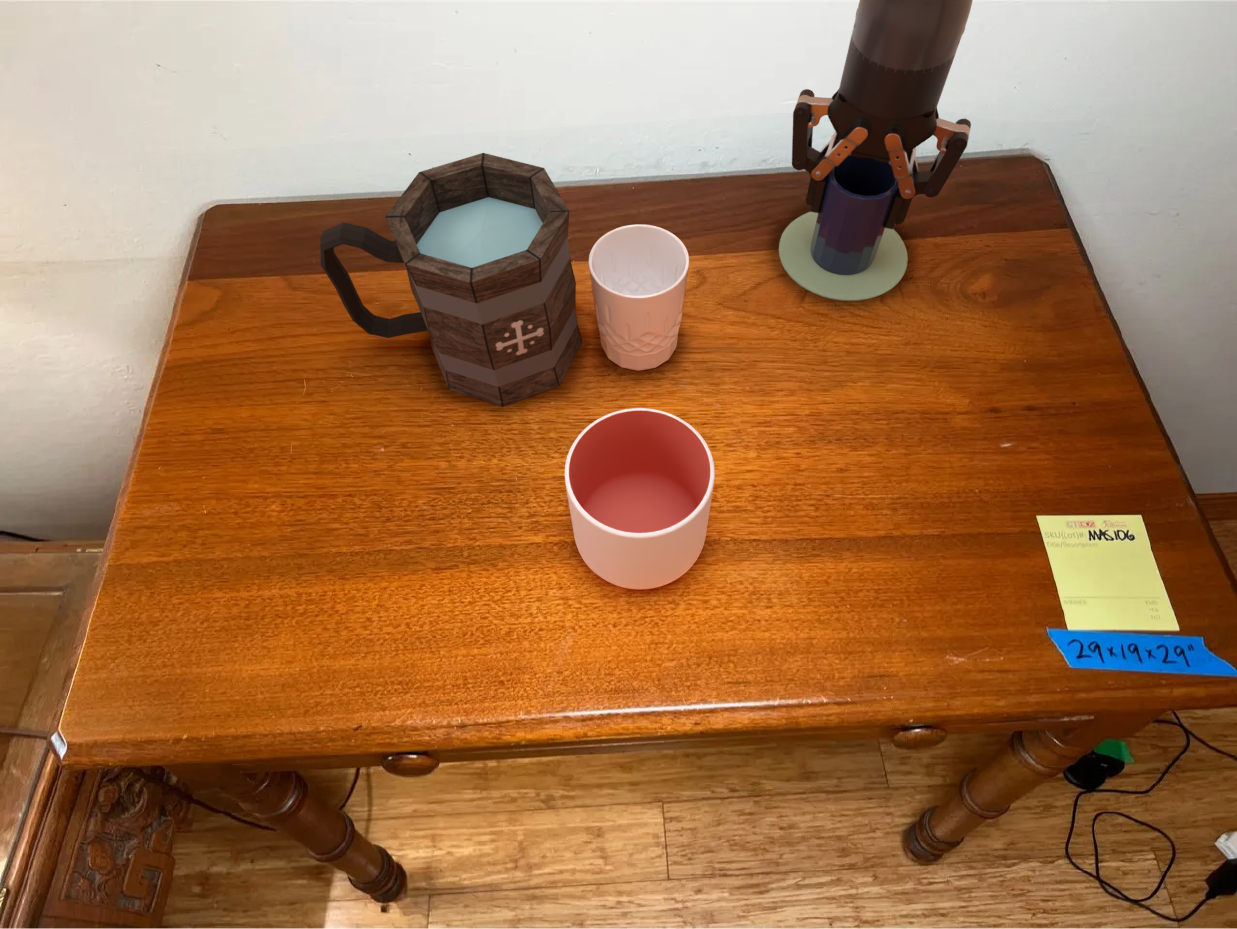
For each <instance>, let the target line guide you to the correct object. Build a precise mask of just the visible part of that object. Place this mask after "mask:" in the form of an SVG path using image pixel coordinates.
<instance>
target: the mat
mask: <svg viewBox="0 0 1237 929" xmlns="http://www.w3.org/2000/svg"><path fill="white" fill-rule="evenodd" d="M817 217H818V213H814V212H811V211H808V212H806V213H804V214H802V215H800V216H799V217H797V218H795V219H794V220H792V221H791V222H790V223H789V224H788V225H787V226H786V227H785V229H784V230H783V232H782V234H781V236H780V239H779V243H778V257H779V261H780V263H781V266H782V268H783V269H784V271H785V272H786V274H787V275H788V276H789V278H791V280H792V281H794V282H795V283H796V284H797V285H798V286H800V287H801V288H802V289H804V290H806V291H808V292H809V293H812V294H814V295H816V296H819V297H821V298H825V299H828V300H832V301H840V302H861V301H867V300H871V299H874V298H877V297H880V296H883V295H885V294H886V293H889V291H891V290H892V289H894V288H895V287H896V286H897V285H898V284H899V282H901V280H902V279H903V277H904V275H905V273H906V271H907V267H908V263H909V262H908V260H909V259H908V251H907V247H906V245H905V243H904V241H903V239H902V237H901V236H900V235H899V234H898V232H897V231H896V230H895V229H894V228H893V229H888V228H885V229H884V232H883V235H882V238H881V241H880V244H879V247H878V250H877V253H876V256H875V258H874V261H873V263H872V264H871V265H870V267H869V268H867V269H866V270H865V271H863V272H861V273H858V274H854V275H838V274H834V273H831V272H828V271H826V270H824V269H823V268H821V267H820V266H819V265H818V264H817V263H816V262H815V261H814V260H813V258H812V255H811V251H810V247H811V241H812V237H813V233H814V229H815V225H816V221H817Z"/></svg>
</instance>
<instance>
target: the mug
mask: <svg viewBox="0 0 1237 929" xmlns="http://www.w3.org/2000/svg"><path fill="white" fill-rule="evenodd" d="M385 220H386V222H387V225H388V228H389V229H390V231H391V235H392V237H393V239H394V240H391V239H388V238H387V237H384V236H382V235H380V234H378V233H377V232H375V231H374V230H371V229H369V228H368V227H366V226H361V225H357V224H352V223H348V222H340V223H339V224H336V225H333V226H332V227H329V228H326V229H325V230H323V231H322V233H321V235H320V238H319V239H320V240H319V242H320V243H319V248H320V249H319V258H320V259H319V260H320V266H321V268H322V270H323V271H324V272H325V274H326V276H327V278H328V279H329V280H330V282H331V284H332V285H333V287H334V288H335V290H336V292H337V294H338V296H339V299H340V300H341V303H342V305H343V307H344V308H345V310H346V312H347V314H348V315H349V317H350V319H351V320H352V322H353V323H354V324H356V325H357V326H358V327H360V328H361V329H362V330H363V331H364V332H366V333H367V334H368V335H372V336H375V337H379V338H386V339H390V338H396V337H399V336H404V335H409V334H416V333H417V334H418V333H423V332H428V334H429V341H430V347H431V349H432V352H433V354H434V357H435V359H436V362H437V365H438V367H439V369H440V372H441V374H442V376H443V379H444V381H445V384H446V386H447V389H448V390H449V391H452V392H455V393H458V394H461V395H465V396H468V397H471V398H474V399H477V400H481V401H484V402H487V403H490V404H493V405H495V406H499V407H502V408H504V407H507V406H509V405H512V404H515V403H517V402H520V401H522V400H525V399H528V398H531V397H534V396H536V395H539V394H543V393H544V392H548V391H551V390H553V389H556V388H559V387H560V386H561V384H562V382H563V380H564V379H565V376H566V374H567V372H568V371H569V369H570V368H571V365H572V363H573V362H574V360H575V358H576V355H577V354H578V352H579V350H580V348H581V346H582V344H583V339H582V335H581V331H580V328H579V324H578V317H577V306H576V304H577V303H576V302H577V301H576V300H577V299H576V298H577V282H576V278H575V273H574V268H573V264H572V260H571V253H570V252H571V251H570V244H569V224H570V222H569V221H570V210H569V208H568V206H567V204H566V203H565V201H564V199H563V198H562V196H561V195H560V192H559V191H558V189H557V188H556V186H555V183H553V181H552V179H551V177H550V176H549V173H548V172H547V170H546V169H545V167H542V166H539V165H538V166H537V165H534V164H529V163H526V162H521V161H518V160H513V159H510V158H506V157H502V156H497V155H494V154H490V153H486V152H481V153H478V154H474V155H471V156H468V157H465V158H461V159H458V160H454V161H451V162H447V163H444V164H441V165H437V166H434V167H431V168H428V169H425V170H421V171H419V172H418V173H417V174H416V176H415V177H414V178H413V180H411V182H410V183H409V185H408V186H407V188H405V190H404V191H403V193H402V194H401V196H399V198H398V200H396V202H395V203H394V205H393V206H392V207H391V209H390V210H389V211H388V213H387V214H386V215H385ZM342 245H346V246H349V247H353V248H357V249H360V250H363V251H364V252H366V253H367V254H370V255H371V256H373V257H374V258H376V259H379V260H380V261H383V262H385V263H397V264H404V265H405V267H406V272H407V278H408V282H409V286H410V290H411V292H412V295H413V297H414V300H415V303H416V304H417V307H418V309H419V311H418V312H410V313H405V314H401V315H398V316H395V317H391V318H389V317H385V316H380V315H374V314H373V313H372V312H371V311H370V310H369V308H367V307H366V306H365V305H364V304H363V301H362V300H361V297H360V295H359V293H358V291H357V289H356V286H355V285H354V283H353V280H352V278H351V276H350V274H349V272H348V271H347V269H346V268H345V267H344V264H342V262H341V260H340V258H339V257H338V256H337V254H336V253H335V248H336V247H339V246H342Z"/></svg>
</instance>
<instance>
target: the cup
mask: <svg viewBox="0 0 1237 929" xmlns="http://www.w3.org/2000/svg"><path fill="white" fill-rule="evenodd" d="M564 463H565V465H564V482H565V484H564V485H565V490H566V495H567V501H568V508H569V514H570V519H571V525H572V531H573V537H574V542H575V545H576V548H577V550H578V553H579V555H580V557H581V558H582V560H583V562H584V563H585V564H586V566H587V567H588V568H589V569H590V570H591V571H592V572H593V573H594V574H595V575H597V576H598V577H599V578H601V579H603V580H604V581H606V582H608V583H609V584H612V585H614V586H617V587H620V588H625V589H629V590H650V589H655V588H661V587H662V586H663V587H664V586H665V585H668V584H670V583H672V582H674V581H676V580H678V579H679V578H681V577H682V576H684V575H685V574H686V573H687V572H688V571H689V570H690V569H691V568H692V567H693V566H694V564H695V563H696V562H697V560H698V558H699V557H700V555H701V553H702V551H703V548H704V545H705V542H706V538H707V537H706V536H707V532H708V524H709V517H710V512H711V504H712V498H713V492H714V487H715V486H714V485H715V477H716V469H715V468H716V467H715V462H714V458H713V455H712V451H711V450H710V448H709V446H708V444H707V442H706V441H705V439H704V438H703V436H702V435H701V434H700V433H699V432H698V430H697V429H696V428H694V426H692V425H691V424H690V423H688V422H687V421H685V420H684V419H683V418H680V417H678V416H677V415H675V414H672V413H669V412H668V411H667V412H666V411H663V410H660V409H655V408H646V407H631V408H625V409H620V410H616V411H613V412H610V413H608V414H605V415H602V416H600V417H599V418H597V419H596V420H594V421H593V422H592V423H590V424H589V425H587V426H586V427H585V428H583V430H582V431H581V432H580V433H579V434H578V436H576V438H575V440H574V441H573V443H572V445H571V446H570V449H569V451H568V453H567V456H566V459H565V462H564Z"/></svg>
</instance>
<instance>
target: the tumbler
mask: <svg viewBox="0 0 1237 929" xmlns="http://www.w3.org/2000/svg"><path fill="white" fill-rule="evenodd" d="M898 188H899V187H898V183H897V179H895V178H894V174H893V170H892V166H891V162H890V161H889V163H883V162H879V161H876V160H874V159H872V158H858V157H853V156H851V153H850V154H849V155H848V156H847V157H846V158H845V159H844V161H843V162H842V163H841V164H840V165H839V166H838V167H836V166H835V167H834V168H833V169H832V171H831V172H830V173H829V174H828V175H827V181H826V185H825V189H824V193H823V197H822V202H821V206H820V210H819V213H818V217H817V221H816V225H815V229H814V233H813V237H812V241H811V247H810V251H811V255H812V258H813V260H814V261H815V262H816V263H817V264H818V265H819V266H820V267H821V268H823V269H824V270H826V271H828V272H831V273H834V274H838V275H854V274H858V273H861V272H863V271H865V270H866V269H867V268H869V267H870V265H871V264H872V263H873V261H874V258H875V256H876V253H877V250H878V247H879V244H880V241H881V238H882V235H883V232H884V229H885V226H886V223H887V220H888V217H889V214H890V211H891V208H892V205H893V202H894V199H895V196H896V194H897V191H898Z"/></svg>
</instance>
